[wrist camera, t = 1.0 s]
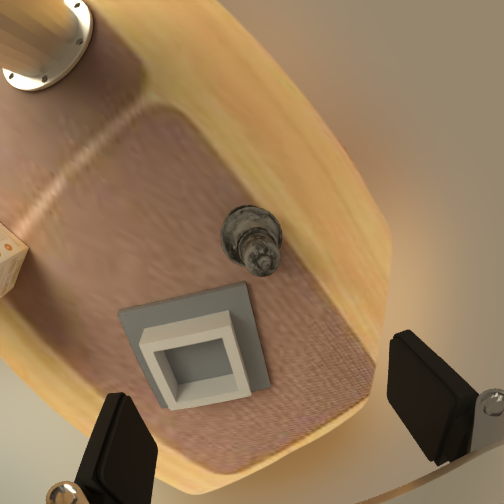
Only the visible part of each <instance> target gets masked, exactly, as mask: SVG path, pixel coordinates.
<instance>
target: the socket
mask: <svg viewBox="0 0 504 504" xmlns="http://www.w3.org/2000/svg"><path fill="white" fill-rule="evenodd" d="M118 316H119V319H120V321H121V324H122V326H123V328H124V331H125V333H126V336H127V338H128V340H129V342H130V345H131V347H132V349H133V351H134V354H135V356H136V358H137V360H138V362H139V364H140V366H141V369H142V371H143V373H144V375H145V377H146V379H147V381H148V383H149V385H150V387H151V389H152V391H153V393H154V395H155V397H156V399H157V400H158V402H159V404H160V406H161V408H168V407H169V409H170V411H173V410H179V409H186V408H192V407H198V406H204V405H209V404H214V403H220V402H225V401H230V400H234V399H239V398H244V397H248V396H252V395H251V392H253V391H257V390H261V389H266V388H270V387H271V385H270V381H269V377H268V373H267V369H266V365H265V361H264V357H263V353H262V349H261V344H260V340H259V336H258V332H257V328H256V324H255V320H254V316H253V312H252V308H251V303H250V299H249V295H248V291H247V287H246V283H245V281H243V282H239V283H235V284H231V285H226V286H222V287H218V288H214V289H210V290H205V291H201V292H197V293H193V294H188V295H184V296H180V297H175V298H171V299H166V300H162V301H157V302H153V303H149V304H144V305H139V306H135V307H130V308H126V309H121V310H119V312H118Z"/></svg>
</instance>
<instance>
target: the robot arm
mask: <svg viewBox="0 0 504 504" xmlns="http://www.w3.org/2000/svg"><path fill="white" fill-rule="evenodd" d="M92 31H93V18H92V13H91V11H90V9H89V8H88V6H87V5H86V4H85V3H84V2H83V1H82V0H0V68H2V69H3V73H4V76H5V78H6V79H7V81H8V82H9V84H11V85H12V86H13V87H15V88H17V89H20V90H24V91H37V90H41V89H44V88H47V87H49V86H51V85H53V84H54V83H56V82H58V81H59V80H60V79H62V78H63V77H64V76H65V75H66V74H68V73H69V72H70V71H71V69H72V68H73V67H74V66H75V65H76V64H77V63H78V61H79V60H80V58H81V57H82V56H83V54H84V52H85V50H86V48H87V46H88V44H89V41H90V39H91V35H92ZM81 43H82V44H81ZM387 398H388V401H389V403H390V404H391V406H392V407H393V408H394V410H395V411H396V413H397V414H398V416H399V417H400V419H401V420H402V422H403V423H404V425H405V426H406V427H407V429H408V430H409V432H410V433H411V435H412V436H413V438H414V439H415V441H416V442H417V444H418V445H419V447H420V448H421V450H422V451H423V452H424V454H425V456H426V457H427V459H428V460H429V461H434V462H435V463H436V465H437V466H440V465H442V464H443V463H445V462H447V461H449V462H450V463H449V464H448V465H446V466H443V467H441V468H440V469H438V470H436V471H434V472H431V473H429V474H428V475H425V476H423V477H421V478H419V479H417V480H414V481H412V482H410V483H408V484H406V485H403V486H401V487H398V488H396V489H394V490H391V491H389V492H387V493H384V494H382V495H379V496H376V497H373V498H371V499H368V500H365V501H362V502H360V503H356V504H504V390H502V389H496V388H495V389H489V390H486V391H484V392H482V393H481V394H480V395H479V394H478V393H477V392H476V391H475V390H474V389H473V388H472V387H471V386H470V385H469V384H468V383H467V382H466V381H465V380H464V379H463V378H462V377H461V376H460V375H459V374H458V373H457V372H455V371H454V370H453V369H452V368H451V367H450V366H449V365H448V364H447V363H446V362H445V361H444V360H443V359H442V358H441V357H439V356H438V355H437V354H436V353H435V352H434V351H433V350H431V349H430V348H429V347H428V346H427V345H426V344H425V343H424V342H423V341H421V339H420V338H418V337H417V336H416V335H415V334H414V333H413V332H412V331H411V330H405V331H402V332H400V333H396V334H395V335H394V336H393V339H391V340H390V348H389V369H388V384H387ZM157 455H158V448H157V444H156V442H155V441H154V439H153V437H152V435H151V434H150V432H149V430H148V429H147V427H146V425H145V423H144V421H143V420H142V418H141V416H140V414H139V412H138V410H137V408H136V407H135V405H134V403H133V401H132V399H131V397H130V396H126V394H125V393H123V392H120V393H109V394H108V395H107V397H106V399H105V402H104V404H103V406H102V409H101V411H100V414H99V416H98V419H97V421H96V424H95V426H94V429H93V432H92V434H91V437H90V439H89V442H88V445H87V448H86V450H85V453H84V455H83V458H82V461H81V464H80V467H79V470H78V472H77V475H76V478H75V481H74V483H73V482H70V481H62V482H59V483H57V484H55V485H54V486H52V487H51V488H50V489H49V491H48V493H47V495H46V504H151V497H152V489H153V481H154V475H155V468H156V461H157Z"/></svg>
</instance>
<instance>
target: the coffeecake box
mask: <svg viewBox="0 0 504 504" xmlns="http://www.w3.org/2000/svg"><path fill="white" fill-rule="evenodd" d="M28 249H29V247H28V246H27V245H25V244H24V243H23V242H22V241H21V240H20V239H18V238H17V237H16V236H15V235H14V234H13V233H12V232H10V231H9V230H8V229H7V228H6V227H5V226H4V225H3V224H1V223H0V298H1V297H3V296H4V295H5V294H6V293H8V292H9V291H10V290H11V289H13V288H14V285H15V282H16V280H17V277H18V273H19V271H20V269H21V266H22V264H23V261H24V259H25V256H26V254H27V251H28Z"/></svg>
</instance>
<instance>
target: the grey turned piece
mask: <svg viewBox="0 0 504 504" xmlns="http://www.w3.org/2000/svg"><path fill="white" fill-rule="evenodd" d="M281 242H282V230H281V227H280V224H279V222H278V221H277V219H276V218H275V217H274V216H273V215H272V214H271V213H270V212H268V211H266V210H264V209H262V208H258V207H256V206H252V205H243V206H240V207H237V208H236V209H234V210H232V211H231V212H230V213H229V214H228V215H227V217H226V219H225V221H224V224H223V227H222V231H221V245H222V248H223V251H224V253H225V254H226V255H227V257H228V258H229V259H230V260H231V261H233V262H234V263H236V264H238V265H240V266H244V267H246V268H247V269H248V271H249V272H251V273H252V274H253V275H256V276H259V277H266V276H269V275H271V274H272V273H274V272H275V271H276V270H277V268H278V267H279V265H280V261H281V254H280V251H279V249H280V246H281Z"/></svg>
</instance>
